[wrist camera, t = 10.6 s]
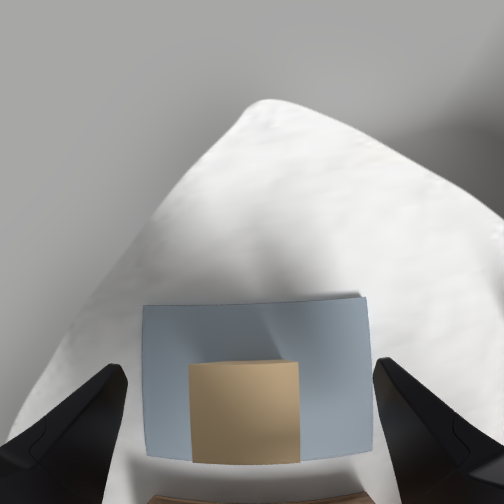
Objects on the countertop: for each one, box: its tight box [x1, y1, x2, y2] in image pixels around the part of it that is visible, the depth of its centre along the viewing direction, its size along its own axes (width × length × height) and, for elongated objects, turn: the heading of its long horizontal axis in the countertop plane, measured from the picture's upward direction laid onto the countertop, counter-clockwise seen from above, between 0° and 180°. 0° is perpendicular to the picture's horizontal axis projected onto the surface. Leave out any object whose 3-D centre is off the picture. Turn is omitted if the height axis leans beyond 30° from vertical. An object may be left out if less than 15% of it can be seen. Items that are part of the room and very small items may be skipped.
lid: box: [142, 297, 373, 465], centre depth 12 cm, size 10×14×10 cm
